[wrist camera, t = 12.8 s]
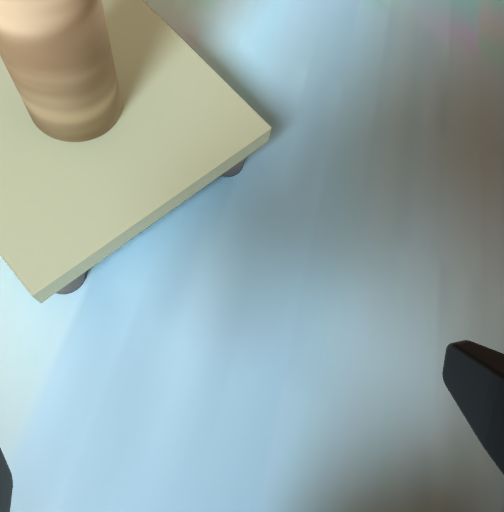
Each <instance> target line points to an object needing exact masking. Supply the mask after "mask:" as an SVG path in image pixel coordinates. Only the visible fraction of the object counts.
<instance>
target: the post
mask: <svg viewBox="0 0 504 512" xmlns="http://www.w3.org/2000/svg"><path fill="white" fill-rule="evenodd" d="M0 56H1V58H2V60H3V62H4V64H5V66H6V68H7V70H8V72H9V74H10V76H11V78H12V80H13V82H14V84H15V86H16V88H17V90H18V92H19V94H20V96H21V98H22V100H23V102H24V104H25V106H26V108H27V111H28V113H29V115H30V117H31V119H32V121H33V122H34V124H35V125H36V126H37V127H38V129H39V130H41V131H42V132H43V133H44V134H46V135H48V136H50V137H52V138H54V139H57V140H60V141H65V142H84V141H89V140H92V139H95V138H97V137H100V136H102V135H103V134H105V133H106V132H108V131H109V130H110V129H111V128H112V127H113V126H114V125H115V124H116V122H117V121H118V119H119V117H120V114H121V110H122V101H121V96H120V90H119V85H118V80H117V75H116V70H115V65H114V60H113V55H112V49H111V44H110V39H109V34H108V29H107V24H106V19H105V14H104V8H103V3H102V0H0Z"/></svg>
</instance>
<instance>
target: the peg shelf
mask: <svg viewBox="0 0 504 512" xmlns="http://www.w3.org/2000/svg"><path fill="white" fill-rule="evenodd" d="M102 3H103V8H104V14H105V19H106V24H107V29H108V34H109V39H110V44H111V49H112V55H113V60H114V65H115V70H116V75H117V80H118V85H119V90H120V96H121V101H122V110H121V114H120V117H119V119H118V121H117V122H116V124H115V125H114V126H113V127H112V128H111V129H110V130H109V131H108V132H106V133H105V134H103V135H102V136H100V137H97V138H95V139H92V140H89V141H84V142H65V141H60V140H57V139H54V138H52V137H50V136H48V135H46V134H44V133H43V132H42V131H41V130H39V129H38V127H37V126H36V125H35V124H34V122H33V121H32V119H31V117H30V115H29V113H28V111H27V108H26V106H25V104H24V102H23V100H22V98H21V96H20V94H19V92H18V90H17V88H16V86H15V84H14V82H13V80H12V78H11V76H10V74H9V72H8V70H7V68H6V66H5V64H4V62H3V60H2V58H1V56H0V256H1V257H2V258H3V259H4V261H5V262H6V263H7V265H8V266H9V267H10V268H11V270H12V271H13V272H14V273H15V275H16V276H17V277H18V279H19V280H20V281H21V282H22V284H23V285H24V286H25V288H26V289H27V290H28V291H29V293H30V294H31V295H32V296H33V297H34V298H35V299H36V300H38V301H39V302H40V303H42V302H44V301H45V300H46V299H48V298H49V297H51V296H52V295H53V294H55V293H58V294H68V293H72V292H74V291H76V290H77V289H78V288H79V287H80V286H81V285H82V284H83V282H84V280H85V275H86V271H87V270H89V269H90V268H91V267H93V266H94V265H96V264H97V263H98V262H100V261H101V260H103V259H104V258H105V257H107V256H108V255H110V254H111V253H112V252H114V251H115V250H117V249H118V248H119V247H121V246H122V245H124V244H125V243H126V242H128V241H129V240H131V239H132V238H133V237H135V236H136V235H138V234H139V233H141V232H142V231H143V230H145V229H146V228H148V227H149V226H150V225H152V224H153V223H155V222H156V221H157V220H159V219H160V218H162V217H163V216H164V215H166V214H167V213H169V212H170V211H171V210H173V209H174V208H176V207H177V206H178V205H180V204H181V203H183V202H184V201H185V200H187V199H188V198H190V197H191V196H192V195H194V194H195V193H197V192H198V191H199V190H201V189H202V188H204V187H205V186H206V185H208V184H209V183H211V182H212V181H213V180H215V179H216V178H218V177H219V176H223V177H231V176H234V175H236V174H238V173H239V172H240V171H241V169H242V166H243V162H244V158H246V157H247V156H249V155H250V154H251V153H253V152H254V151H256V150H257V149H258V148H260V147H261V146H263V145H264V144H265V143H267V142H268V140H269V137H270V133H271V129H272V128H271V127H270V126H269V125H268V124H267V123H266V122H265V121H264V120H263V119H262V118H261V117H260V116H259V115H258V114H257V113H256V112H255V111H254V110H253V109H252V108H251V107H250V106H249V105H248V104H247V103H246V102H245V101H244V100H243V99H242V98H241V97H240V96H239V95H238V94H237V93H236V92H235V91H234V90H233V89H232V88H231V87H230V86H229V85H228V84H227V83H226V82H225V81H224V80H223V79H222V78H221V77H220V76H219V75H218V74H217V73H216V72H215V71H214V70H213V69H212V68H211V67H210V66H209V65H208V64H207V63H206V62H205V61H204V60H203V59H202V58H201V57H200V56H199V55H198V54H197V53H196V52H195V51H194V50H193V49H192V48H191V47H190V46H189V45H188V44H187V43H186V42H185V41H184V40H183V39H182V38H181V37H180V36H179V35H178V34H177V33H176V32H175V31H174V30H173V29H172V28H171V27H170V26H169V25H168V24H167V23H165V22H164V21H163V20H162V19H161V18H160V17H159V16H158V15H157V14H156V13H155V12H154V11H153V10H152V9H151V8H150V7H149V6H148V5H147V4H146V3H145V2H144V1H143V0H102Z"/></svg>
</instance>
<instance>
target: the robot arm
mask: <svg viewBox="0 0 504 512" xmlns="http://www.w3.org/2000/svg"><path fill="white" fill-rule="evenodd" d="M443 380H444V383H445V385H446V387H447V388H448V390H449V392H450V393H451V395H452V397H453V398H454V400H455V402H456V403H457V405H458V406H459V408H460V410H461V411H462V413H463V415H464V416H465V418H466V420H467V421H468V423H469V425H470V426H471V428H472V429H473V431H474V433H475V434H476V436H477V438H478V439H479V441H480V442H481V444H482V445H483V447H484V448H485V450H486V451H487V452H488V454H489V455H490V457H491V458H492V459H493V461H494V462H495V463H496V465H497V466H498V467H499V469H500V470H501V471H502V473H503V474H504V354H502V353H500V352H497V351H495V350H492V349H489V348H487V347H484V346H482V345H479V344H476V343H474V342H471V341H468V340H463V341H459V342H454V343H451V344H449V345H448V346H447V348H446V354H445V360H444V366H443ZM12 488H13V480H12V474H11V472H10V469H9V467H8V465H7V462H6V460H5V457H4V455H3V453H2V450H1V448H0V512H10V506H11V497H12Z"/></svg>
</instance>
